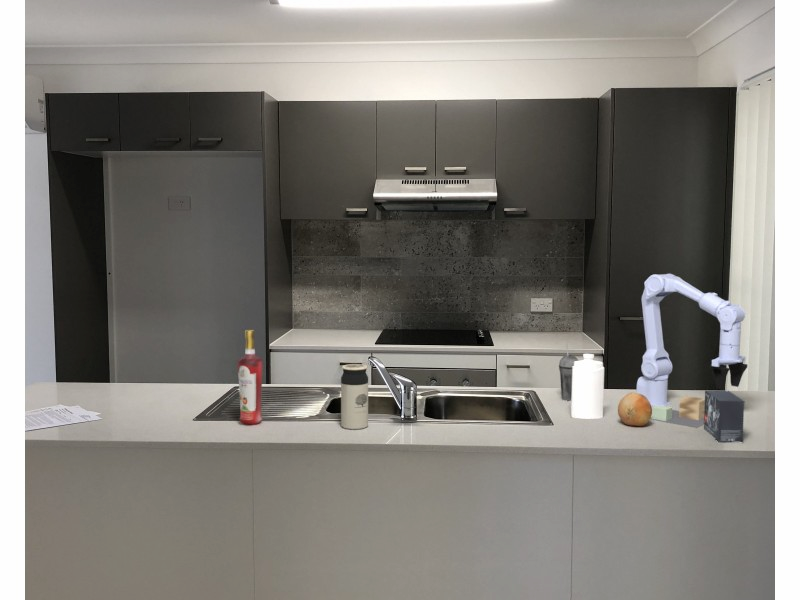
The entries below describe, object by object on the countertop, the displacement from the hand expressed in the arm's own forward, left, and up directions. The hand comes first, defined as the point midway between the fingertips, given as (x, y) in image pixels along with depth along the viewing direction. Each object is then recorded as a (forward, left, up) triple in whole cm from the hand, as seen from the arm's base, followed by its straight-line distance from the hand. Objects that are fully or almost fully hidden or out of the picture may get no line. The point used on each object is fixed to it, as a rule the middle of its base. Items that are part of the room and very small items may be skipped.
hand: (727, 387), depth 221 cm
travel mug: (-77, -86, -10) cm, 116 cm away
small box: (+6, -21, -10) cm, 24 cm away
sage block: (-14, -15, -10) cm, 23 cm away
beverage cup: (-49, -10, -10) cm, 51 cm away
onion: (-17, -28, -10) cm, 34 cm away
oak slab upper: (-8, -6, -7) cm, 12 cm away
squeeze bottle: (-32, -29, -10) cm, 45 cm away
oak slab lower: (-8, -6, -10) cm, 14 cm away
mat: (-10, -10, -10) cm, 17 cm away
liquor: (-102, -105, -10) cm, 147 cm away
